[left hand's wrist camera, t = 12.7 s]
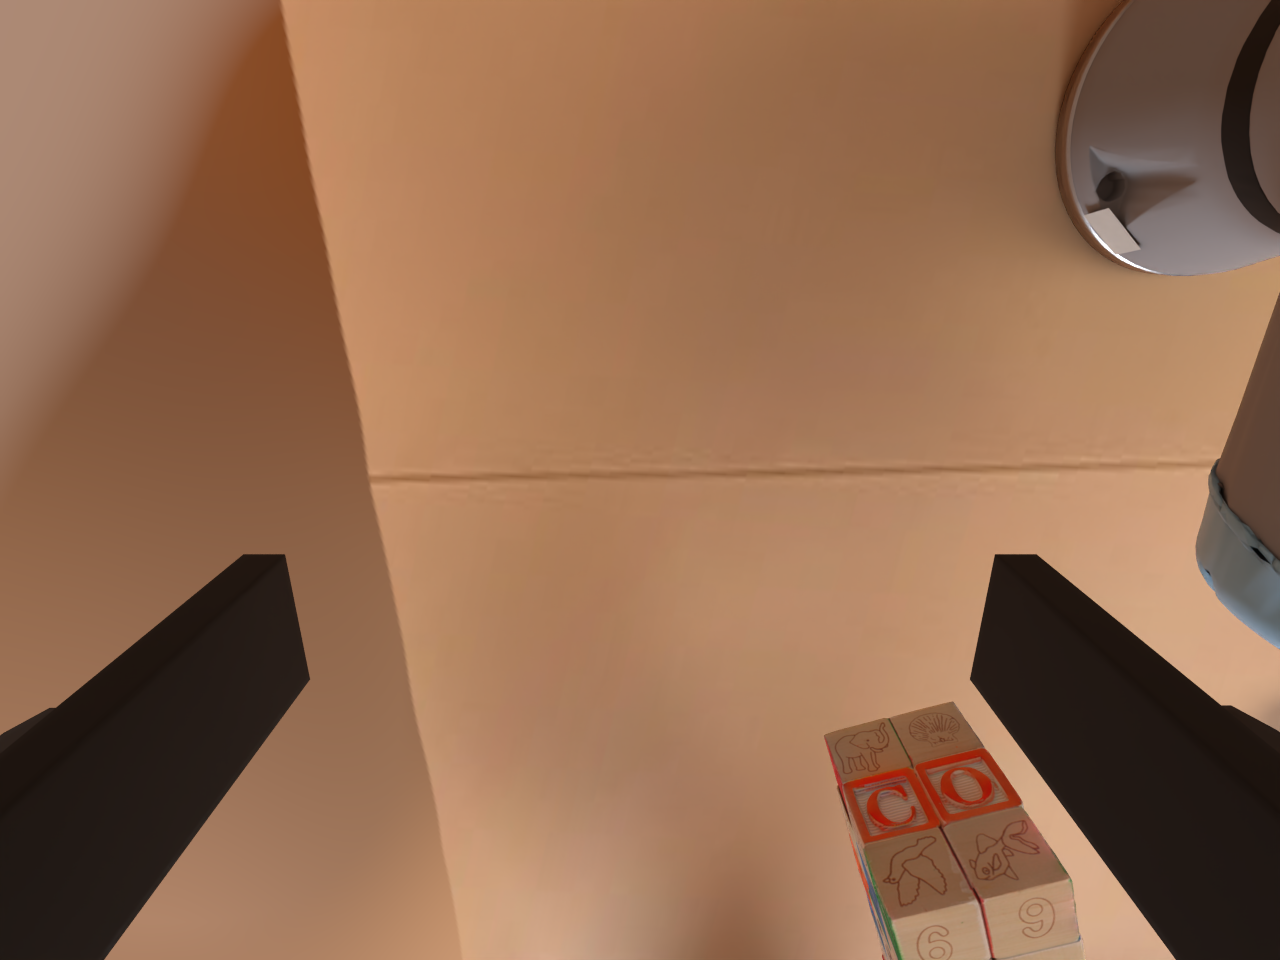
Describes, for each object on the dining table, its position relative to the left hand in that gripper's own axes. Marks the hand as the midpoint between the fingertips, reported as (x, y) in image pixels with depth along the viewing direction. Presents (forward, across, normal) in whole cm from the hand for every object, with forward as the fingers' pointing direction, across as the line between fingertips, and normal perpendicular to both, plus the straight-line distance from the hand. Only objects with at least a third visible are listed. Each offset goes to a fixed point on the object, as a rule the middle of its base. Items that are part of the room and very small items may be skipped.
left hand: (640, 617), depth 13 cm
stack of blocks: (+14, +14, -24) cm, 32 cm away
